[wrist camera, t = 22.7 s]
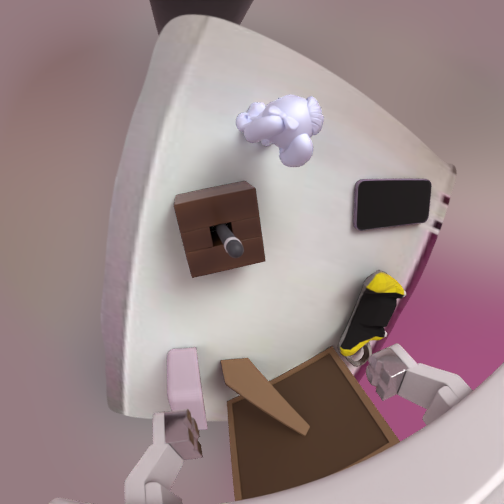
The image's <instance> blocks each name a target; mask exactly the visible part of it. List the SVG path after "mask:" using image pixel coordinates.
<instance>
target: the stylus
mask: <svg viewBox="0 0 504 504" xmlns="http://www.w3.org/2000/svg"><path fill="white" fill-rule="evenodd" d="M214 228H215V230H216V232H217V234H218V235H219V237H220V239H221V241H222V243H223V245H224V248H225V250H226V252H227V253H228V254H229V255H230V256H231V257H232V258H239V257H241V256H242V254H243V252H244V247H243V245H242V243H241V242H240V240H239V239H238V238H236V237H235V235H234V234H233V233H232V232H231V231H230V229H229V228H228V227H227V226H226V225H225V223H224V224H219V225H215V226H214Z"/></svg>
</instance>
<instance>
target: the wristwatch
mask: <svg viewBox="0 0 504 504" xmlns="http://www.w3.org/2000/svg"><path fill="white" fill-rule="evenodd" d="M363 349H364V354H363V356H362V358H361V359H360V360H359V361H353V360H352V359H351V357H350V356H345V357H346V359H347V360H348V361H349V362H350V363H351V364H352V365H353V366H356V367H358V366H360V365H363V364H364V363H365V362H366V361H367V360H368V359H369V357H370V355H372V350H371V346H370V343H369V342H368V343H366V344H365V345H364V346H363Z"/></svg>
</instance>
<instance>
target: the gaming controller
mask: <svg viewBox="0 0 504 504" xmlns="http://www.w3.org/2000/svg"><path fill="white" fill-rule="evenodd" d="M405 295H406V291H404V290H403V288H402V286H401V285H400V284H399V283H398V282H397V281H396V280H395V279H394V278H392V277H391V276H390V275H388V274H387V273H385V272H383V271H380V270H377V271H376V272H374V273H373V274H372V275H370V276H369V277H368V278H366V280H365V281H364V284H363V289H362V291H361V293H360V296H359V299H358V301H357V304H356V306H355V309H354V311H353V313H352V316H351V318H350V320H349V322H348V325H347V327H346V329H345V331H344V333H343V335H342V336H341V339H340V341H339V344H338V349H339V352H340V353H341V354H342V355H343V356H350V355H353V354H355V353H356V352H357V351H358V350H359V349H360V348H361V347H363V346H364V345H365V344H366V343H368V342H369V341H370V340H381V339H382V338H384V337H386V335H387V333H386V331H385V330H384V327H386V326H387V324H388V322H389V320H390V318H391V316H392V314H393V312H394V310H395V307H396V299H397V298H402V297H405Z"/></svg>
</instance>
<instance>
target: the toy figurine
mask: <svg viewBox="0 0 504 504" xmlns="http://www.w3.org/2000/svg"><path fill="white" fill-rule="evenodd" d="M323 122H324V116H323V114H322V110H321V106H319V102H318V101H317V100H316V99H315V98H314V97H313V96H310V97H308V98H307V99H304V98H302V97H299V96H296V95H292V94H289V95H286V96H283V97H281V98H278V100H276V101H272V102H270V103H268V104H267V106H265V104H264V103H262V102H259V103H258V102H254V103H252V104H251V105H250V108H249V110H248V112H247V113H246V112H242V113H240V114H238V116H237V118H236V126H237V128H238V130H240V131H241V132H244V136H245V138H246V140H247V141H249V142H251V143H255V142H259V141H261V142H262V144H263V145H264V146H269V145H271V144H272V143H273V144H275V145H276V146H278V147H279V150H280V152H279V153H280V155H279V157H280V160H281V162H282V163H283V164H284V165H285V166H288V167H299V166H302V165H304V164H305V163H306V162H308V161H309V159H310V158H311V156H312V154H313V144H312V141H311V139H310V137H311V136H312V135H316V134H317V133H319V131H321V129H322V125H323Z"/></svg>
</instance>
